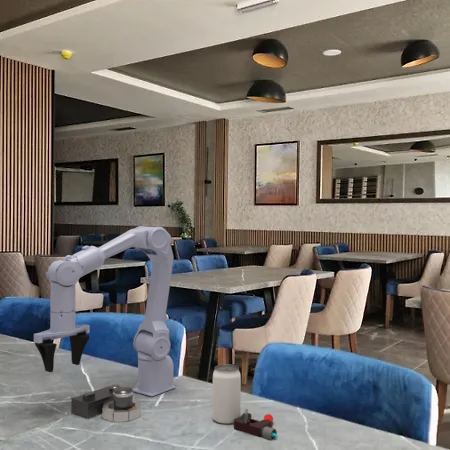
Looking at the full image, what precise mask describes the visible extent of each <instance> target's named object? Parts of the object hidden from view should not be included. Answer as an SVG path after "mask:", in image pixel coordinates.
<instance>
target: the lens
mask: <svg viewBox="0 0 450 450" xmlns="http://www.w3.org/2000/svg"><path fill="white" fill-rule="evenodd" d="M133 395H134V391H133V389H132V387H129V386H120V387H119V388H116V389H114V391H113V396H114V410H128V409H131V408H132V407H133V400H134V398H133Z"/></svg>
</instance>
